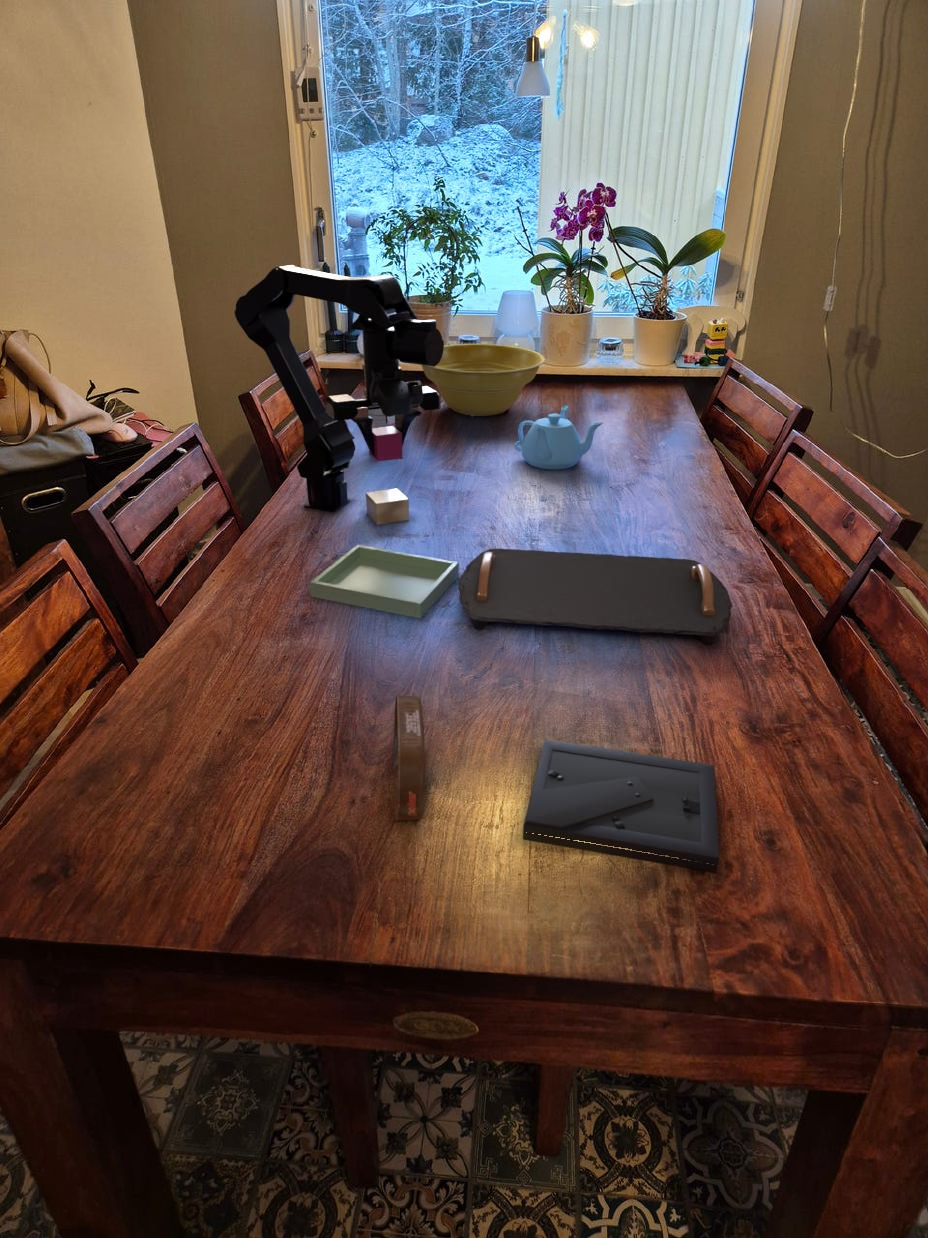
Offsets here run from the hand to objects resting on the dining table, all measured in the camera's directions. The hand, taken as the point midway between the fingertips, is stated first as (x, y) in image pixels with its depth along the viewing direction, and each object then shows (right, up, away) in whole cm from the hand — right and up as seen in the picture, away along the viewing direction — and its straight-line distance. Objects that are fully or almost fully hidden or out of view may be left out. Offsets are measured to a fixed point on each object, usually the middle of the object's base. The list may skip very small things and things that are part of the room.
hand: (385, 452), depth 141 cm
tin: (+8, -46, -57) cm, 73 cm away
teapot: (+33, +5, +34) cm, 48 cm away
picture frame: (+29, -48, -59) cm, 81 cm away
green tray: (+2, -24, -17) cm, 29 cm away
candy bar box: (-4, +9, +42) cm, 43 cm away
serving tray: (+32, -27, -22) cm, 47 cm away
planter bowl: (+18, +26, +71) cm, 78 cm away
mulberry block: (0, -1, 0) cm, 1 cm away
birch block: (0, -10, +7) cm, 12 cm away
